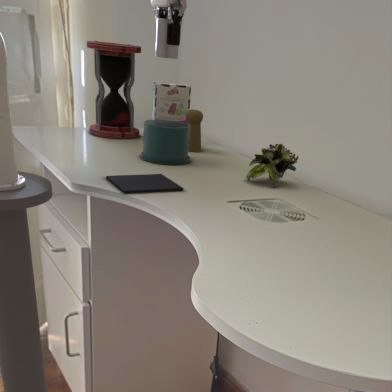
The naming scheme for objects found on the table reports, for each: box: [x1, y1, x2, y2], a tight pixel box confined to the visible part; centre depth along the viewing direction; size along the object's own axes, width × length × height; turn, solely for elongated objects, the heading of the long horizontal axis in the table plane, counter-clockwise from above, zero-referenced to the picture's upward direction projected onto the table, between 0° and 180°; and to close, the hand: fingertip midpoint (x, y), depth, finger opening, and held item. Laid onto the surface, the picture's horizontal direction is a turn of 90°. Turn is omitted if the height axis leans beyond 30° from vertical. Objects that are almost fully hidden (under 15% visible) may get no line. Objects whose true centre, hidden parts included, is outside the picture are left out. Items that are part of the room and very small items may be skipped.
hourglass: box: [86, 40, 142, 139], centre depth 147 cm, size 16×16×25 cm
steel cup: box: [154, 18, 180, 60], centre depth 110 cm, size 5×5×8 cm
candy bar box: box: [151, 82, 192, 124], centre depth 147 cm, size 11×5×16 cm, turn 104°
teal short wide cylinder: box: [140, 119, 191, 166], centre depth 128 cm, size 14×14×9 cm
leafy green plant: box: [245, 143, 299, 188], centre depth 116 cm, size 11×11×12 cm
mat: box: [105, 173, 184, 194], centre depth 107 cm, size 14×12×1 cm
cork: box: [186, 109, 204, 153], centre depth 141 cm, size 6×6×11 cm
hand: (167, 43), depth 110 cm, fingers closed on steel cup, 5 cm apart
